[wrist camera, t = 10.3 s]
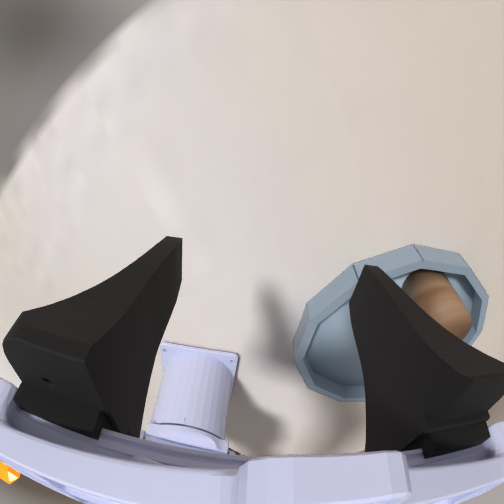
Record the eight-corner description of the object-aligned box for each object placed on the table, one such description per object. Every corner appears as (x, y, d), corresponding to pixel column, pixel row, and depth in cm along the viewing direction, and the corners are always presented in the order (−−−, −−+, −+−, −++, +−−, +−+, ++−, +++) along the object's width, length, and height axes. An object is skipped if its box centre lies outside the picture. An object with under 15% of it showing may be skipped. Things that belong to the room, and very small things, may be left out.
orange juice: (6, 439, 83) (-7, 473, 66) (16, 444, 82) (3, 480, 65) (16, 448, 87) (5, 481, 71) (27, 452, 86) (16, 487, 69)
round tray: (422, 384, 34) (426, 397, 32) (277, 382, 34) (277, 398, 32) (506, 263, 23) (516, 276, 22) (330, 229, 23) (335, 245, 21)
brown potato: (431, 304, 26) (454, 351, 21) (394, 301, 26) (414, 352, 21) (451, 267, 24) (481, 313, 18) (412, 261, 23) (441, 311, 18)
